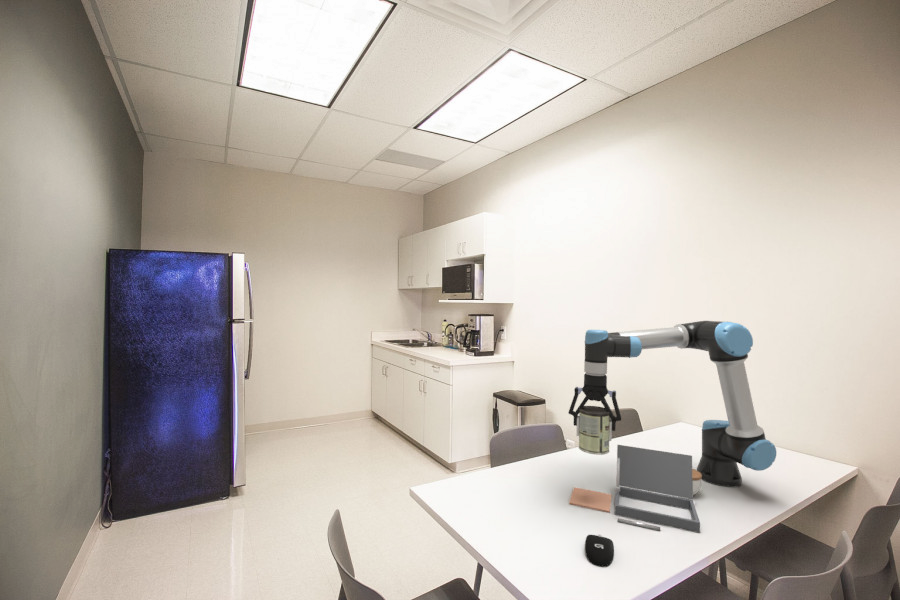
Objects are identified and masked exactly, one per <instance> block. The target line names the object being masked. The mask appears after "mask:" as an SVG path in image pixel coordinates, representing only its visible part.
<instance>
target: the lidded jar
mask: <svg viewBox="0 0 900 600" xmlns="http://www.w3.org/2000/svg"><path fill="white" fill-rule="evenodd" d="M701 478H702V474H701V473H700V472H699V471H697V469H694V468H692V480H693V496H694V495H695V494H698V492H699V491H700V489H701V486H702V479H701Z"/></svg>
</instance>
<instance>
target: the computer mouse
mask: <svg viewBox="0 0 900 600" xmlns="http://www.w3.org/2000/svg"><path fill="white" fill-rule="evenodd" d="M584 552H585V556H586V559H587V561H589V563H591V564H592V565H594V566H596V567H600V568H601V567H602V568H606V567H609V566H610V565H611V564H612V562H613V560H614V555H615V546H614V542H613V540H612V539H611V538H608V537H604V536H602V534H599V533H598V535H596V534H588V535H587V536H586V537H585V542H584Z"/></svg>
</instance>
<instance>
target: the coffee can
mask: <svg viewBox="0 0 900 600" xmlns="http://www.w3.org/2000/svg"><path fill="white" fill-rule="evenodd" d="M579 411H580V413H579V414H578V416H579V436H578V449H579V450H580V451H581V452H583V453H587V454H590V455H597V456H598V455H599V456H603V455H608V454H610V441H609V422H610V420H611V418H610V416H609V414H610V412H607V411H606V409H605V407H604V406H597V405H584V407H583V408H582V409H579Z"/></svg>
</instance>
